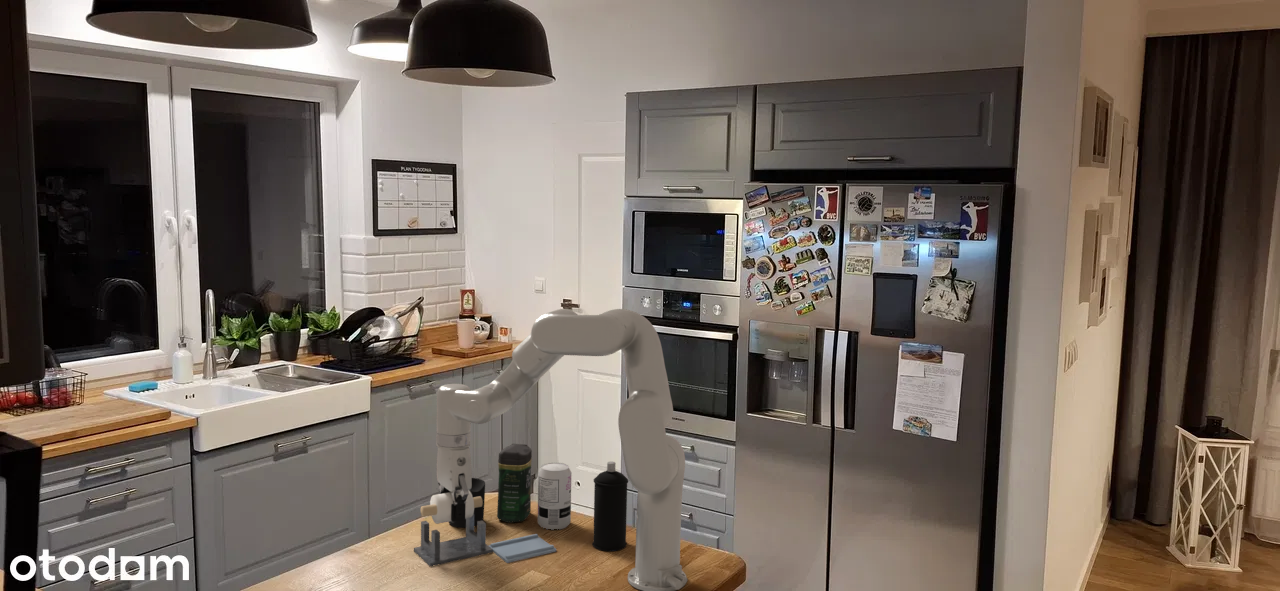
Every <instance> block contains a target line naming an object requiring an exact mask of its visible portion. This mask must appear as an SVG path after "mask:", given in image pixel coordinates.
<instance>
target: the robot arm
mask: <svg viewBox="0 0 1280 591" xmlns="http://www.w3.org/2000/svg"><path fill="white" fill-rule="evenodd" d="M618 351H622V353H623V355H624V370H625V371H624V372H625V373H624V374H625V377H626V382H627V389H628V398H626V400H625V401H624V402H623V404H622V405H621V407H620V409H619V413H618V421H617V424H618V431H619V432H618V433H619V437H620V438H619V439H620V443H621V448H622V450H621V451H622V454H623V455H622V456H623V460H624V467H625V472H626V475H627V479H628V482H630V484H631V485H632V486H633V487H634V489H636V491H637V497H636V498H637V500H636V526H635V527H636V529H635V530H636V531H635V563H634V564H635V565H634V566H635V567H632V568H631V569H630V570H629V572H628V574H627V582H628V583H629V585H631V586H632V587H633V588H635V589H637V590H639V591H677V590H680V589H682V588H683V587H684V586H685V585H686V584H687V582H688V578H687V574H686V573H685V572H684V571H683V565H681V564H680V563H681V537H682V536H681V535H682V534H681V533H682V532H681V531H682V510H683V509H682V507H683V506H682V504H683V488H684V478H685V468H686V455H685V451H684V447H682V445H681V443H680V442H679V441H678V439H676V438H674V437H673V436H671V435H668V434H667V433H666V431H667V430H666V427H667V426H668V425H669V423H671V420H672V419H673V415H674V407H673V406H674V405H673V401H672V396H671V391H670V386H669V380H668V374H667V370H666V364H665V358H664V353H663V348H662V343H661V340H660V337H659V334H658V332H657V330H656V328H655V327H654V326H653V324H652V323H651V322H650V320H648V319H647V318H646V317H645V316H644V315H642V314H640V313H639V312H637V311H633V310H630V309H624V308H615V309H610V310H607V311H605V312H602V313H599V314H578V313H576V312H575V311H574V310H572V309H567V308H560V309H556V310H553V311H549V312H546V313H543V314H542V315H540V316H539V317H537V318H536V320H534V323H533V324H532V327H531V330H530V334H528V335H527V337H525V338H524V339H523V340H522V341H521V342H520V343H519V344H518V345H517V346H516V347H515V348H514V349H513V350H512V353H511V358H512V360H511V362H510V363H509V365H508V366H507V367H506V368H505V369H504V370H503V371H502V372H501V373H500V374H499V375H497V377H496V378H495V379H493V381H491V382H490V383H489V384H488V383H487V384H486V385H484V386H481V387H479V388H476V389H472V390H471V388H470V386H468V385H466V384H462V383H445V384H444V385H443V384H442V385H441V386H440V387H438V389H437V393H436V435H435V436H436V440H435V443H436V445H435V446H436V447H437V455H436V480H437V482H438V483H437V484H438V494H443V493H449V492H452V500H453V504H451V521H452V522H456V521H461V520H465V507H466V499H467V496H468V495H469V491H468V490H470V489H471V487H472V478H473V477H472V459H471V451H470V447H471V423H472V424H476V425H482V424H487V423H488V422H490V421H492V420H494V419H495V418H497V417H499V416H501V415H503V414H505V413H507V412H508V411H510V409H511V408H513V407H514V406H515V405H516V404H517V403H518V402H519V401H520V400H521V399H522V398H523V397H524V396H525V395H526V394H527V393H528V392H529V391H530V390H532V388H533V387H534V385H535V384H537V383H538V382H539V381H540V379H541V378H543V376H544V375H545V374H546V373H547V372H548V371H549V370H550V369H551V368H552V367H554V366H555V365H556V363H558V362H559V360H561V359H562V358H563V357H564V356H581V357H583V356H584V357H604V356H605V357H606V356H610V355H612V354H616V352H618ZM458 487H460V490H455V488H458ZM456 493H460V495H458V497H457V498H456Z"/></svg>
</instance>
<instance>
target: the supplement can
mask: <svg viewBox="0 0 1280 591" xmlns="http://www.w3.org/2000/svg"><path fill="white" fill-rule="evenodd" d="M537 474H538V475H537V476H538V477H537V525H538V526H540V528H542V527H543V528H542V529H544V528H546V529H545V530H548V529H551V530H550V531H555V530H554V529H557V530H556V531H559V530H564V529H566V528H567V527H568V526H569V525H570V524H571V522H572V521H571V519H572V510H571V509H572V471H571V468H570V466H569V464H566V463H563V462H548V463H544V464H542V465H541V466H540V469H539V470H538V473H537ZM558 529H559V530H558Z"/></svg>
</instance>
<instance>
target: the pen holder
mask: <svg viewBox="0 0 1280 591" xmlns="http://www.w3.org/2000/svg"><path fill="white" fill-rule="evenodd" d="M455 490H460V487H458V488H455ZM469 491H470V492H471V494H472V497H478V496H481V498H482V501H483V504H482V507H477V508H474V513H473V514H474V526H475V527H477V521H484V518H485V516H484V515H485V501H486V500H485V497H486V496H485V495H486V494H485V493H486V481H485V480H483V479H481V478H476V477H472V487H471V489H470V490H469ZM448 523H449V525H450V526H451V527H454V528H459V529H466V519H465V520H461V521H456V522H452V521H450V522H448Z"/></svg>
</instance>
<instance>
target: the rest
mask: <svg viewBox="0 0 1280 591" xmlns="http://www.w3.org/2000/svg"><path fill="white" fill-rule="evenodd" d="M487 545H488V544H487ZM488 546H489V547H491V548H492V549H493V553H494V554H495V555H496V556H497V557H499V558H500V559H501V560H502V561H503V562H505V563H506V564H508V563H509V564H510V563H514V562H518V561H522V560H525V559H529V558H535V557H538V556H543V555H548V554H551V553H555V552H557V548H556V547H555V546H554V544H550V543H549V542H547V541H546V540H544V539H543V538H542V537H540V536H539V535H538V533H535V534H534V533H533V534H529V535H524V536H520V537H515V538H511V539H506V540H505V539H504V540H501V541H498V542H497V541H496V542H492V543H490V544H489V545H488Z"/></svg>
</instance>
